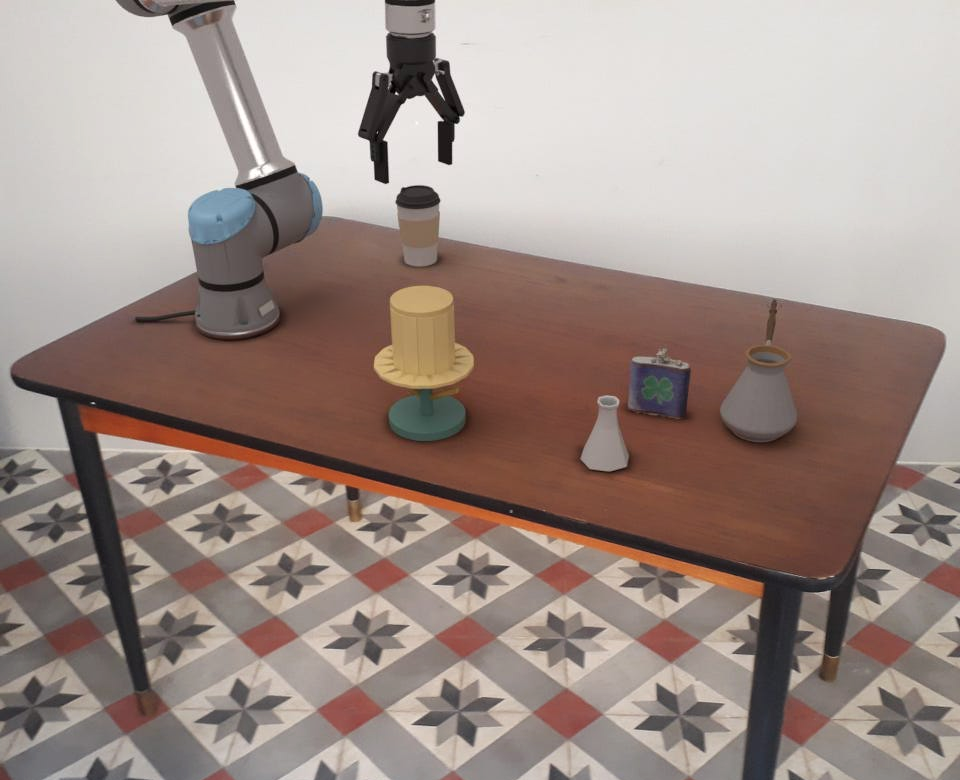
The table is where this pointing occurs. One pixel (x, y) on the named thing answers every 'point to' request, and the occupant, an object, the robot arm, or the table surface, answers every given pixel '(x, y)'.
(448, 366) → the hat
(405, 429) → the hat stand
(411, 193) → the coffee cup
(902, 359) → the table surface
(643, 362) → the flask
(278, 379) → the table surface
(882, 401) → the table surface
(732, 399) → the coffee pot
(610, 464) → the flask
